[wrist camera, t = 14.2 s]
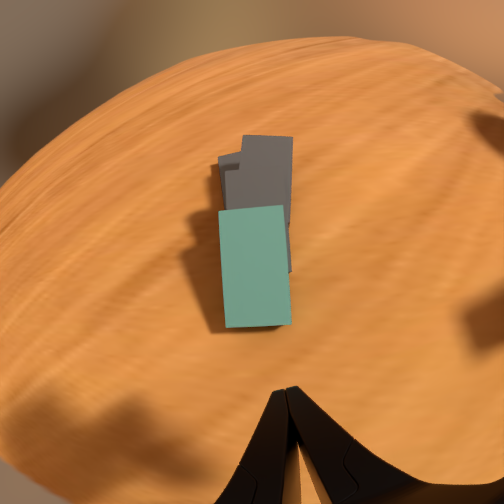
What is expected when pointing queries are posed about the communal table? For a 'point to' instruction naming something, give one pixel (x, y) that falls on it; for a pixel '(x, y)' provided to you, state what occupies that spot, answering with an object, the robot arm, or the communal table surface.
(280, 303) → the domino
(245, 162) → the domino
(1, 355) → the communal table surface
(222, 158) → the domino end
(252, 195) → the domino
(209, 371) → the communal table surface
